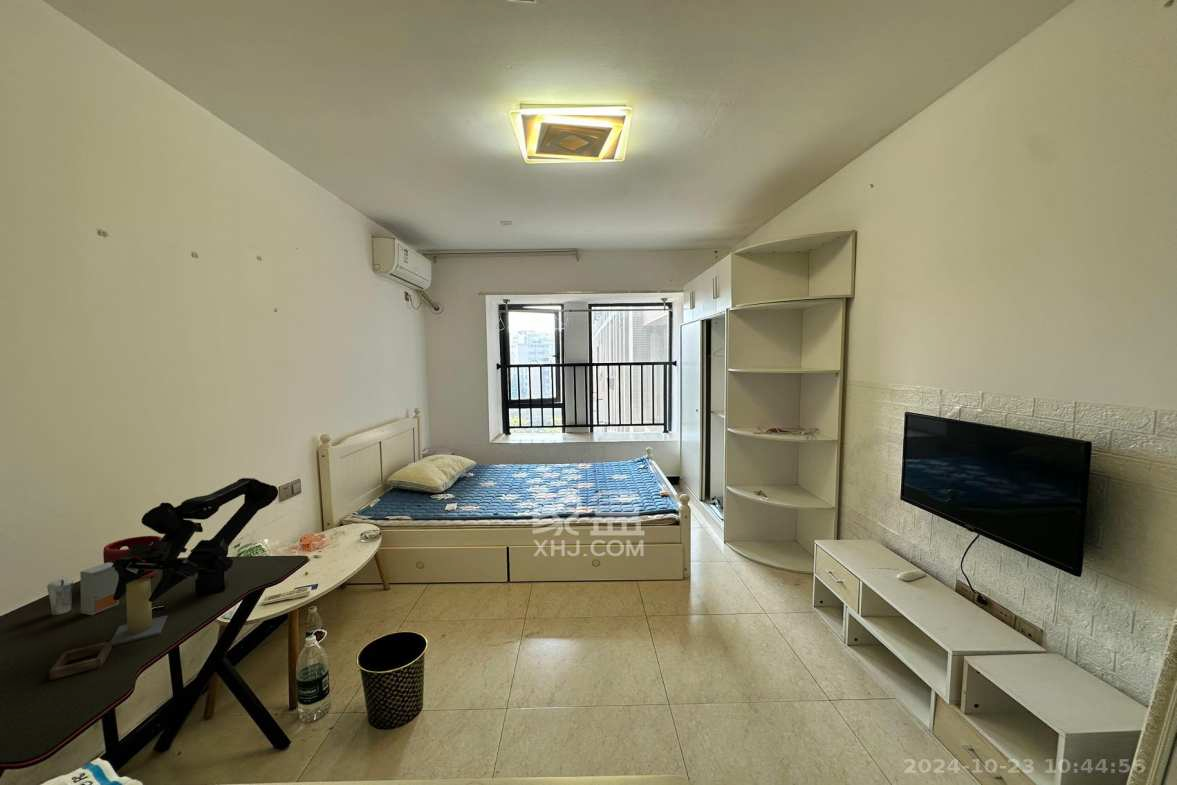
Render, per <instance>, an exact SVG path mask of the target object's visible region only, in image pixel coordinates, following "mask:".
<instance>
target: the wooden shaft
mask: <svg viewBox="0 0 1177 785" xmlns="http://www.w3.org/2000/svg"><path fill="white" fill-rule="evenodd" d="M151 594H152V579H151V577H150V578H142V579H137V580H134V581H131V582H129V583H127V584H126V593H125V595H126V596H125V597H126V624H127V633H128V634H137V633H141V632H143V631H146V630H148V629H149V628H151V627H152V619H153V617H152V614H153V613H152V612H153V609H152V602H150V601H148V600H149V598H150V596H151Z"/></svg>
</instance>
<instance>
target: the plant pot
mask: <svg viewBox="0 0 1177 785" xmlns="http://www.w3.org/2000/svg"><path fill="white" fill-rule="evenodd" d="M162 537H163V536H159V535H142V536H136V537H135V536H133V537H129V538H123V539H120V540H117V541H113V542H111V543H108V544H107V545H105V546H104V548H103V551H102V552H103V553H102V556H103V564H105V563H108V562H109V563H114V562H115V561H116V560H117V559H118V558H121V557H127V556H128V553H129V551H130V548H131V546H132V544H136V545H152V543H153V542H154V541H156V540H161V539H162ZM123 547H127V548H126V549H125V548H124V549H122V548H123ZM135 558H137V559H139V560H141V561H143V562H146V561H145V560H142V559H140V558H138V557H135ZM152 567H154V566H152ZM158 572H159V570H145V572H143V573H141V574H140V575H141V576H142V577H141V578H140V579H142V578H150V579H151V577H153V576H154V575H156V574H157V573H158ZM138 575H139V574H138ZM118 576H119V575H118Z"/></svg>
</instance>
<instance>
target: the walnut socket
mask: <svg viewBox="0 0 1177 785" xmlns="http://www.w3.org/2000/svg"><path fill="white" fill-rule="evenodd" d="M112 649H113V646H112V641H111V640H109V641H105V642H101V643H97V644H94V645H93V644H91V645H89V646H84V647H81V648H75V649H72V650H67V651H64V652H63V653H62V654H61V655H60V656H59V658H58V659H57V661H56V662H55V663H54V665H52V667H51V668H50V670H49V674H48V675H49V681H51V680H56V679H60V678H63V677H67V676H70V675H75V674H79V673H82V672H86V671H87V672H88V671H90V670H93V669H98V668H102V666H103V664H104V663H105V662H106V659H107V657H108V655H109V654H110V652H111V651H112ZM94 655H97V657H95V658H89V659H86V660H82V661H78V662H75V663H74V662H73V663H71V664H67V663H68V662H70V661H75V660H78V659H81V658H85V657H86V658H87V657H90V656H94Z"/></svg>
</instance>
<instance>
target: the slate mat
mask: <svg viewBox="0 0 1177 785" xmlns="http://www.w3.org/2000/svg"><path fill="white" fill-rule="evenodd" d="M167 618H168V615H162V616H159V617H154V618H153V617H152V627H151V628H149V629H148V630H146V631H143V632H141V633H137V634H128V633H127V623H126V624H122V625H119V627H118V628H117V630H116V631H115V633H114V635H113V636H112V638H111V639H110V641H112V647H113V646H114V647H115V646H117V645H118V646H119V645H123V644H126V643H130V642H134V641H139V640H143V639H146V638H150V637H154V636H159V635H160V634H161V632H162V630H163V628H164V625H165V623H166V621H167Z"/></svg>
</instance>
